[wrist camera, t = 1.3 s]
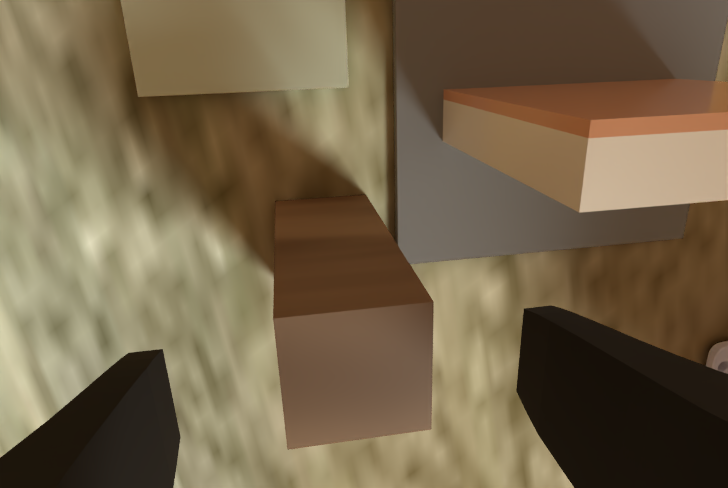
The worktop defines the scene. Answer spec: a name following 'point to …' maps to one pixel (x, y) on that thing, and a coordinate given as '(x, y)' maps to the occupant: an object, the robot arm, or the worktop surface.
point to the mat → (524, 68)
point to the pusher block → (348, 325)
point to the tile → (600, 139)
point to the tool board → (236, 45)
